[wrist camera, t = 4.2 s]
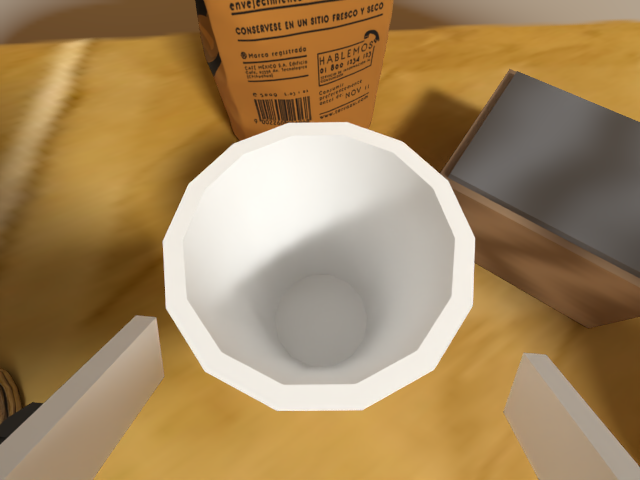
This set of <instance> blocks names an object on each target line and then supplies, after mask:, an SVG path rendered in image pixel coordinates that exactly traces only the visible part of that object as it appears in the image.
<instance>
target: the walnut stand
mask: <svg viewBox="0 0 640 480" xmlns="http://www.w3.org/2000/svg"><path fill="white" fill-rule="evenodd" d="M440 174H441V175H442V176H443V177H444V178H445V179H447V180H448V181H449V183H450V186H451V188H452V190H453V192H454V194H455V196H456V198H457V200H458V203H459V205H460V207H461V209H462V211H463V213H464V215H465V217H466V220H467V222H468V224H469V226H470V228H471V230H472V232H473V235H474V237H475V257H474V263H476V264H478V265H480V266H481V267H483V268H485V269H486V270H488V271H490V272H492V273H493V274H495V275H497V276H499V277H500V278H502V279H504V280H505V281H507V282H509V283H511V284H512V285H514V286H516V287H518V288H519V289H521V290H523V291H524V292H526V293H528V294H530V295H531V296H533V297H535V298H537V299H538V300H540V301H542V302H543V303H545V304H547V305H549V306H550V307H552V308H554V309H556V310H557V311H559V312H561V313H562V314H564V315H566V316H568V317H569V318H571V319H573V320H575V321H576V322H578V323H580V324H581V325H583V326H585V327H587V328H592V327H596V326H601V325H605V324H609V323H614V322H618V321H623V320H627V319H632V318H636V317H640V122H638V121H635V120H633V119H631V118H628V117H626V116H623V115H621V114H619V113H616V112H614V111H611V110H609V109H607V108H604V107H602V106H599V105H597V104H595V103H592V102H590V101H587V100H585V99H583V98H580V97H578V96H575V95H573V94H571V93H568V92H566V91H563V90H561V89H559V88H556V87H554V86H551V85H549V84H547V83H544V82H542V81H539V80H537V79H535V78H532V77H530V76H527V75H525V74H523V73H520V72H518V71H517V72H516V71H513V70H511V69H509V71H508V72H507V74H506V75H505V77H504V78H503V80H502V81H501V83H500V84H499V86H498V87H497V89H496V90H495V92H494V93H493V95H492V96H491V98H490V99H489V101H488V102H487V104H486V105H485V107H484V108H483V110H482V111H481V113H480V114H479V116H478V117H477V119H476V120H475V122H474V123H473V125H472V126H471V128H470V129H469V131H468V132H467V134H466V135H465V137H464V138H463V140H462V141H461V143H460V144H459V146H458V147H457V149H456V150H455V152H454V153H453V155H452V156H451V158H450V159H449V161H448V162H447V164H446V165H445V167H444V168H443V170H442V171H441V173H440Z"/></svg>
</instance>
